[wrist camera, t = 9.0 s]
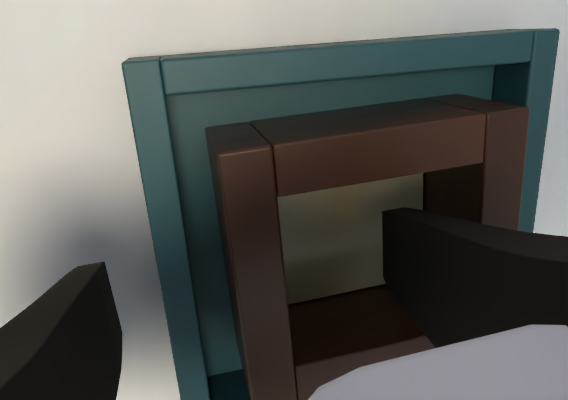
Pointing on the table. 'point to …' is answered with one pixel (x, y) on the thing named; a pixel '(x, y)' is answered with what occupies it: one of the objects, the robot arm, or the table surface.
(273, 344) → the frame
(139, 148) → the holder
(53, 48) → the table surface
